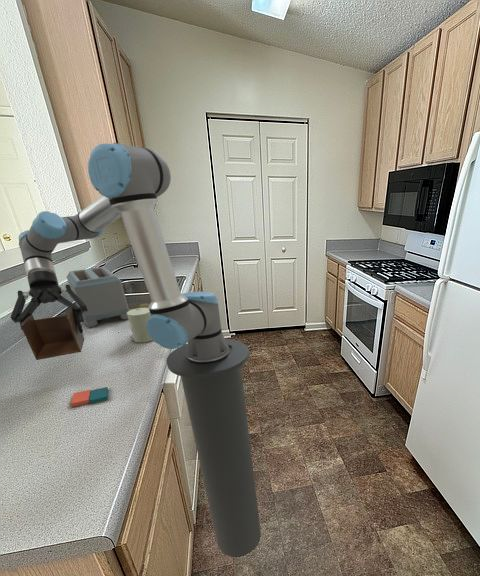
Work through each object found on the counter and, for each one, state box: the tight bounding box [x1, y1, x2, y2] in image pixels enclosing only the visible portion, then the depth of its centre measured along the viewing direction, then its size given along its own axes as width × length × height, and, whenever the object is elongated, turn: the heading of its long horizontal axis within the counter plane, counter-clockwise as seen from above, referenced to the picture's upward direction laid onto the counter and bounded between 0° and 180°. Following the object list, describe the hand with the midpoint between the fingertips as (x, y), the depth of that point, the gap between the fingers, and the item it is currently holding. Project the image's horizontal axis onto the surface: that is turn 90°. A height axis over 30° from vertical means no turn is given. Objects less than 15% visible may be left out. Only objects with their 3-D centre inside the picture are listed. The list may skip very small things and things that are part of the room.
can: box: [127, 307, 154, 343], centre depth 134 cm, size 9×9×12 cm
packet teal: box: [89, 386, 109, 405], centre depth 97 cm, size 4×6×1 cm
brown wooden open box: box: [20, 308, 85, 361], centre depth 102 cm, size 12×11×11 cm
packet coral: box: [70, 389, 91, 408], centre depth 96 cm, size 4×6×1 cm
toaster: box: [66, 266, 130, 328], centre depth 159 cm, size 19×33×20 cm, turn 38°
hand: (56, 335), depth 101 cm, fingers closed on brown wooden open box, 12 cm apart
